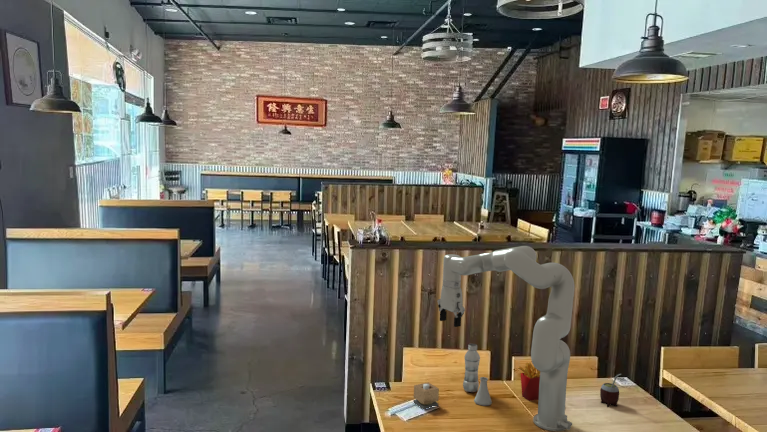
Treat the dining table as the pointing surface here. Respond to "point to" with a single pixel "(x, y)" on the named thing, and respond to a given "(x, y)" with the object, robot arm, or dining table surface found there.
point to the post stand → (424, 406)
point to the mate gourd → (609, 393)
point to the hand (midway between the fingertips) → (449, 323)
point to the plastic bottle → (471, 369)
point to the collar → (426, 393)
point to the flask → (483, 393)
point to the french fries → (530, 382)
